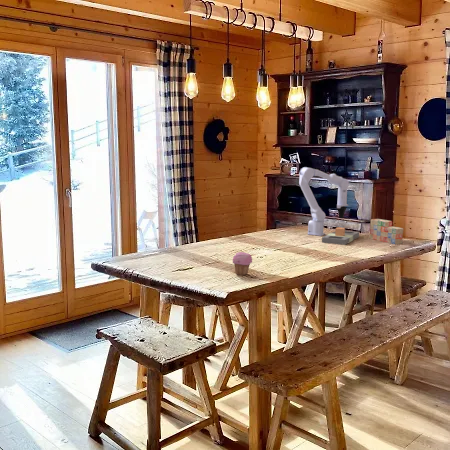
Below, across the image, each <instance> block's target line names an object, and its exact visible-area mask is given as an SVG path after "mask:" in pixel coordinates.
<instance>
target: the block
mask: <svg viewBox="0 0 450 450" xmlns="http://www.w3.org/2000/svg"><path fill="white" fill-rule="evenodd" d="M345 231H346V228H345V227H341V226H340V227H336V228H335V230H334V232H335V236H344V235H345Z"/></svg>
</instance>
